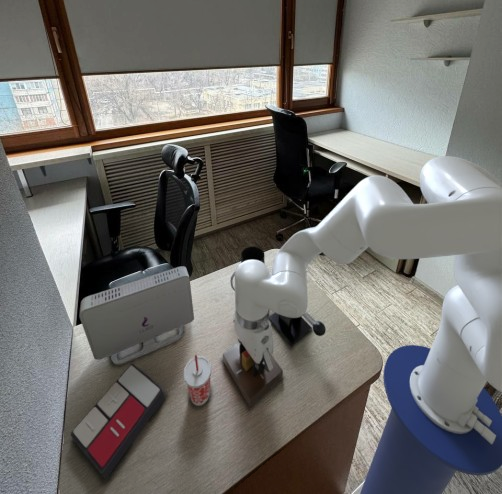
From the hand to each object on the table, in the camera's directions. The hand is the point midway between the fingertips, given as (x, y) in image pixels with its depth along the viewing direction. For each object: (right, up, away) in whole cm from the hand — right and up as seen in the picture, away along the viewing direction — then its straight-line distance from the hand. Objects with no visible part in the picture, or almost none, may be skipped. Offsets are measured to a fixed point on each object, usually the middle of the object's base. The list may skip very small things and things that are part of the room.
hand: (251, 361), depth 67 cm
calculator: (-29, -7, -8) cm, 30 cm away
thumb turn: (0, 0, 0) cm, 0 cm away
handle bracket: (+11, +2, +12) cm, 17 cm away
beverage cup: (-12, -5, -4) cm, 14 cm away
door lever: (+14, +8, +5) cm, 17 cm away
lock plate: (0, -3, +1) cm, 3 cm away
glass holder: (-1, +6, +22) cm, 23 cm away
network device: (-29, 0, +9) cm, 30 cm away
